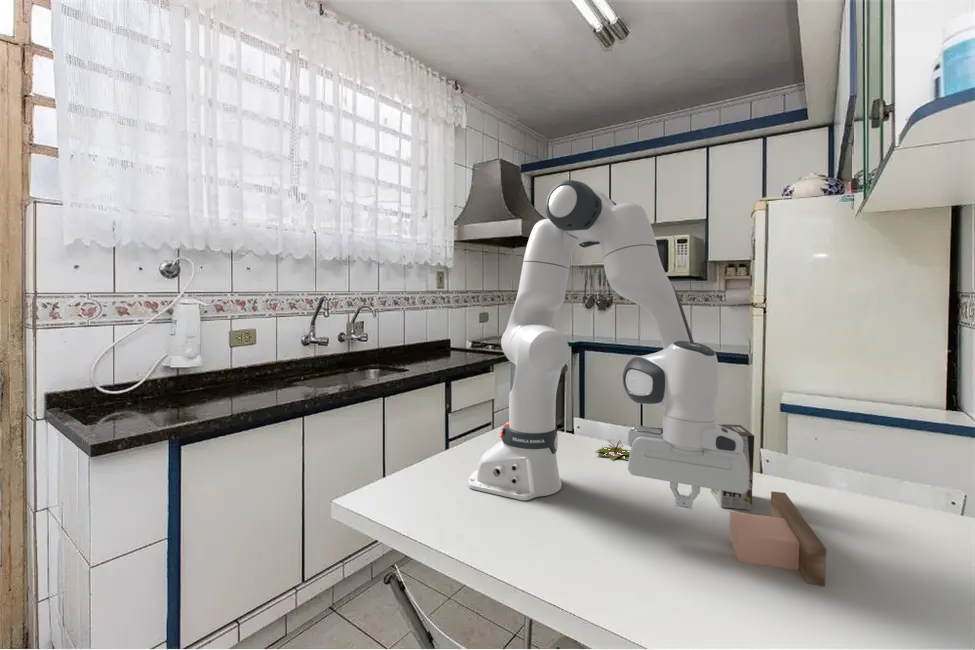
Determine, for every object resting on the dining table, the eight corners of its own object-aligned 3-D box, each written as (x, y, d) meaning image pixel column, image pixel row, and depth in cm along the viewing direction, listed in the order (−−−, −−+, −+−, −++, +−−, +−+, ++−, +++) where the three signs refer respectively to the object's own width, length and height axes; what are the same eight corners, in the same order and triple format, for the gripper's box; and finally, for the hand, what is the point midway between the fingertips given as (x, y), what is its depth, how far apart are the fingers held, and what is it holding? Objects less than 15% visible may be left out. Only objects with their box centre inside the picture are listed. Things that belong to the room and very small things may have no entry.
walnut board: (806, 583, 75) (807, 546, 75) (770, 520, 96) (771, 491, 96) (824, 585, 74) (826, 549, 74) (784, 521, 95) (785, 492, 95)
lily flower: (639, 452, 139) (639, 436, 139) (634, 465, 128) (635, 449, 128) (597, 446, 144) (598, 432, 143) (590, 459, 133) (590, 443, 132)
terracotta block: (738, 562, 81) (738, 534, 81) (729, 537, 90) (729, 511, 90) (798, 571, 79) (799, 542, 78) (783, 544, 87) (784, 518, 87)
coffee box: (753, 510, 100) (755, 435, 99) (720, 507, 102) (722, 434, 101) (739, 492, 109) (741, 424, 108) (709, 490, 111) (711, 422, 110)
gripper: (627, 427, 87) (622, 501, 87) (753, 445, 79) (748, 525, 80) (630, 420, 93) (626, 489, 93) (748, 435, 85) (743, 511, 86)
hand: (683, 506), depth 86 cm, fingers closed
